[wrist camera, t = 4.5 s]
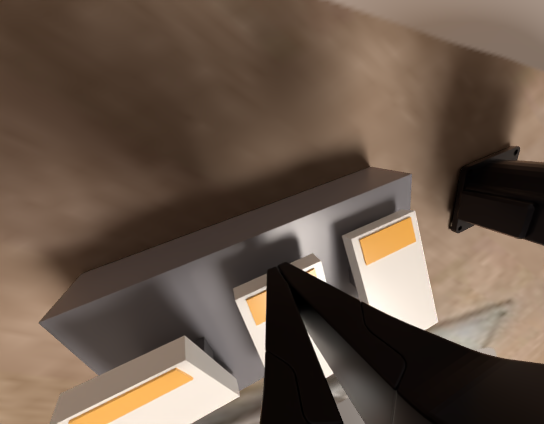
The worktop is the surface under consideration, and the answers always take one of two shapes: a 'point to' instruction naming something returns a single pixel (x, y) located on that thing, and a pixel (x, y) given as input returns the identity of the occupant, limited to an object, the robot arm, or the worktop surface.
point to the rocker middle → (254, 306)
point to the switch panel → (218, 276)
